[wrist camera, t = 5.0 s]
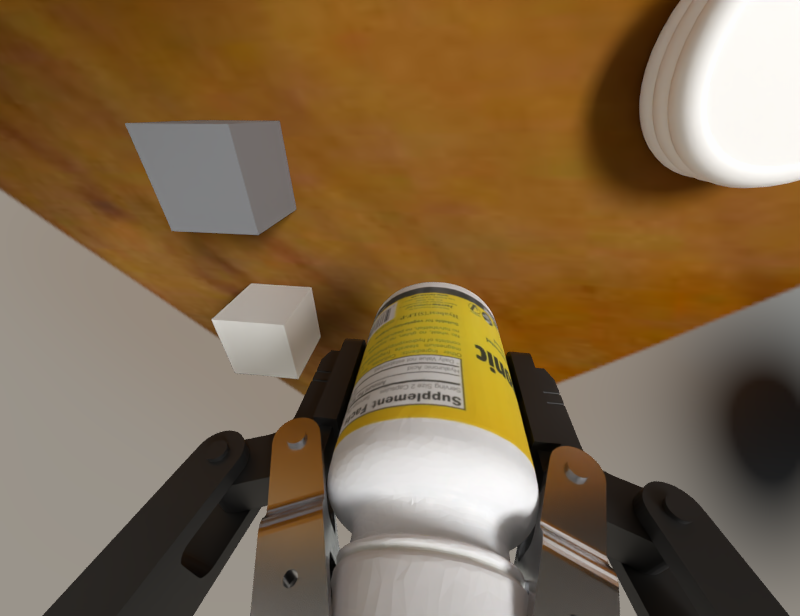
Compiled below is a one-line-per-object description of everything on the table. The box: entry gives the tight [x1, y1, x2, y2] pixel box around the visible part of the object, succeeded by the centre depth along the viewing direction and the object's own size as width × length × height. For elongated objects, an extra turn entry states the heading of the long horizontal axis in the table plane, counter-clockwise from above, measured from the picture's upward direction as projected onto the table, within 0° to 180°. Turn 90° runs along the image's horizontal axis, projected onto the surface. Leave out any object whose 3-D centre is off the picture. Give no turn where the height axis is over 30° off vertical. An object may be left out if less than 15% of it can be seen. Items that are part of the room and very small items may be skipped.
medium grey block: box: [125, 120, 296, 235], centre depth 17 cm, size 5×5×5 cm
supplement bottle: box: [327, 282, 540, 616], centre depth 9 cm, size 5×5×10 cm
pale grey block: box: [211, 284, 321, 379], centre depth 23 cm, size 5×5×5 cm
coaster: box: [639, 0, 800, 188], centre depth 12 cm, size 10×10×4 cm
